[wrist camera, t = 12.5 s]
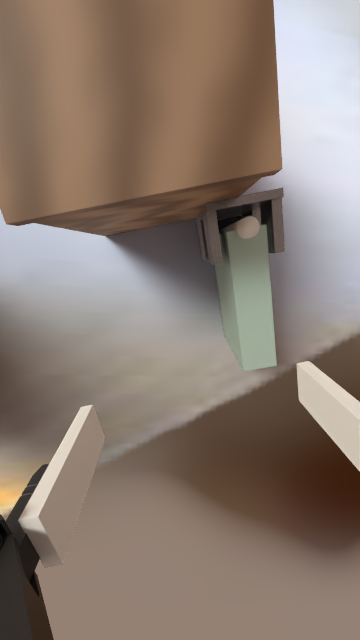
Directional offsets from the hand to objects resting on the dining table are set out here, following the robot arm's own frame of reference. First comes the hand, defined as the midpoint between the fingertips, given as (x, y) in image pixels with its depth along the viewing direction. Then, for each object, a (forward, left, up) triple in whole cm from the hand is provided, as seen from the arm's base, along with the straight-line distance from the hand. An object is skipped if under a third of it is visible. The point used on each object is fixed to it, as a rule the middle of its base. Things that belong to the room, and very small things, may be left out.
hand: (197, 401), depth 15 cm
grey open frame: (+8, +10, -25) cm, 28 cm away
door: (+8, +2, -25) cm, 26 cm away
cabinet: (-1, +19, -25) cm, 31 cm away
